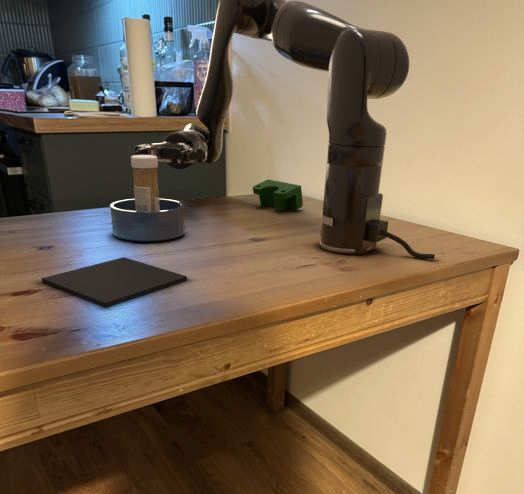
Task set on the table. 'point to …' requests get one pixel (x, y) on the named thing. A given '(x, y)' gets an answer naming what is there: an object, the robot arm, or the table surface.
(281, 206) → the clamp
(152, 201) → the sprinkles bottle
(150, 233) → the bowl
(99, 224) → the table surface
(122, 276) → the mat
